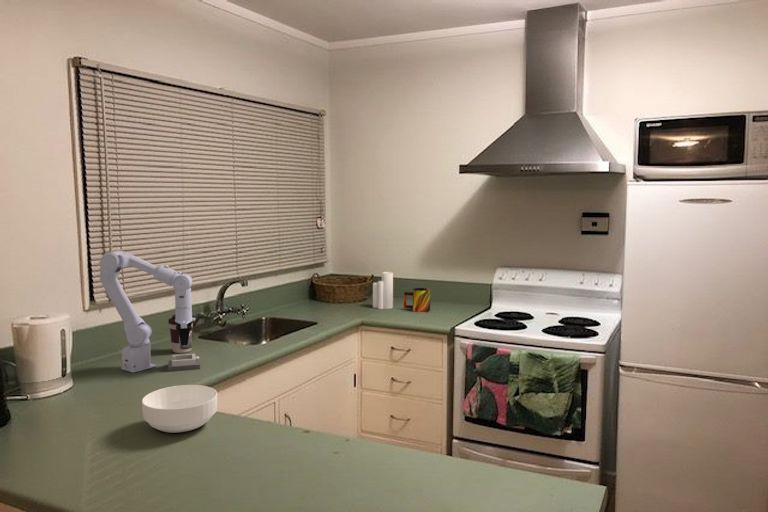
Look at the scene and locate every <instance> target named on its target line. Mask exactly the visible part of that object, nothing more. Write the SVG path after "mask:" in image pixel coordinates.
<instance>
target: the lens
mask: <svg viewBox="0 0 768 512" xmlns="http://www.w3.org/2000/svg"><path fill="white" fill-rule="evenodd" d="M179 347H180V349H190V348H193V340H192V330H191V331H190V334H189V340H188V345H181V342H180V337H179Z"/></svg>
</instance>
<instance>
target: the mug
mask: <svg viewBox="0 0 768 512" xmlns="http://www.w3.org/2000/svg"><path fill="white" fill-rule="evenodd" d="M431 291H432V289H430V288H429V287H427V288H425V287H416V288H415V287H414V288H413V289H412V291H411V292H410V291H409V292H408V291H404V293H403V298H404V299H403V308H404V309H412V312H415V313H419V312H425V313H430V312H431ZM407 296H411V297H412V305H409V304H407ZM429 311H430V312H429Z"/></svg>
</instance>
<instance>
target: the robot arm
mask: <svg viewBox="0 0 768 512" xmlns="http://www.w3.org/2000/svg"><path fill="white" fill-rule="evenodd" d="M98 265H99V280H100V283H101V285H102V287H103V288H104V290H105V292H106V293H107V296H108V298H109V299H110V301H111V302H112V304H113V306H114V308H115V309H116V312H117V313H118V315H119V317H120V319H121V320H122V322H123V323H124V328H123V330H124V331H125V334H126V335H125V337H126V340H127V342H128V346H125V347H123V348H122V350H121V368H120V369H121V370H122V371H127V372H130V373H137V372H141V371H145V370H148V369H151V368H156V367H157V364H154V363H152V357H151V356H152V355H151V352H152V351H151V341H150V337H151V336H152V334H153V330H152V327H151V326H150V325H149V324H147V323H146V322H145V321H144V319H143V318H141V317H140V316H139V315H138V313H137V311H136V309H135V307H134V306H133V304H132V302H131V301H130V299H129V298H128V296H127V293H126V292H125V290H124V289H123V286H122V285H121V283H120V281H119V279H118V277H119V275H120V273H121V270H122V269H123V268H131V267H132V268H134V269H137V270H140V271H142V272H145V273H147V274H150V275H152V276H153V278H154V280H156V281H157V282H161V283H163V284H165V285H167V286H170V287H173V289H174V293H175V294H174V301H175V302H174V305H175V306H174V308H175V309H174V310H175V312H174V313H175V314H176V319H175V322H177V323H176V325H177V326H176V330H177V332H178V334H179V337H180V342H181V345H188V340H189V334H190V331H191V329H192V326H191V325H192V322H191V321H194V322H195V321H196V317H194V318H192V317H193V310H192V309H193V306H192V304H193V301H192V298H193V297H192V286H193V282H194V281H193V278H192V276H191V275H190V274H188V273H187V272H184V273H183V272H182V271H181V270H178V271H177V270H174V269H173V268H170V266H169V265H167V264H165V265H163V264H161V265H158V266H157V265H155V264H152V263H150V262H148V261H146V260H144V259H142V258H140V257H138V256H136V255H133V254H132V253H130V252H127V251H126V252H125V251H124V250H121V249H116V250H114V251H111V252H105V253H104V254H103V255H102V256H101V257H100V260H99V262H98Z"/></svg>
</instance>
